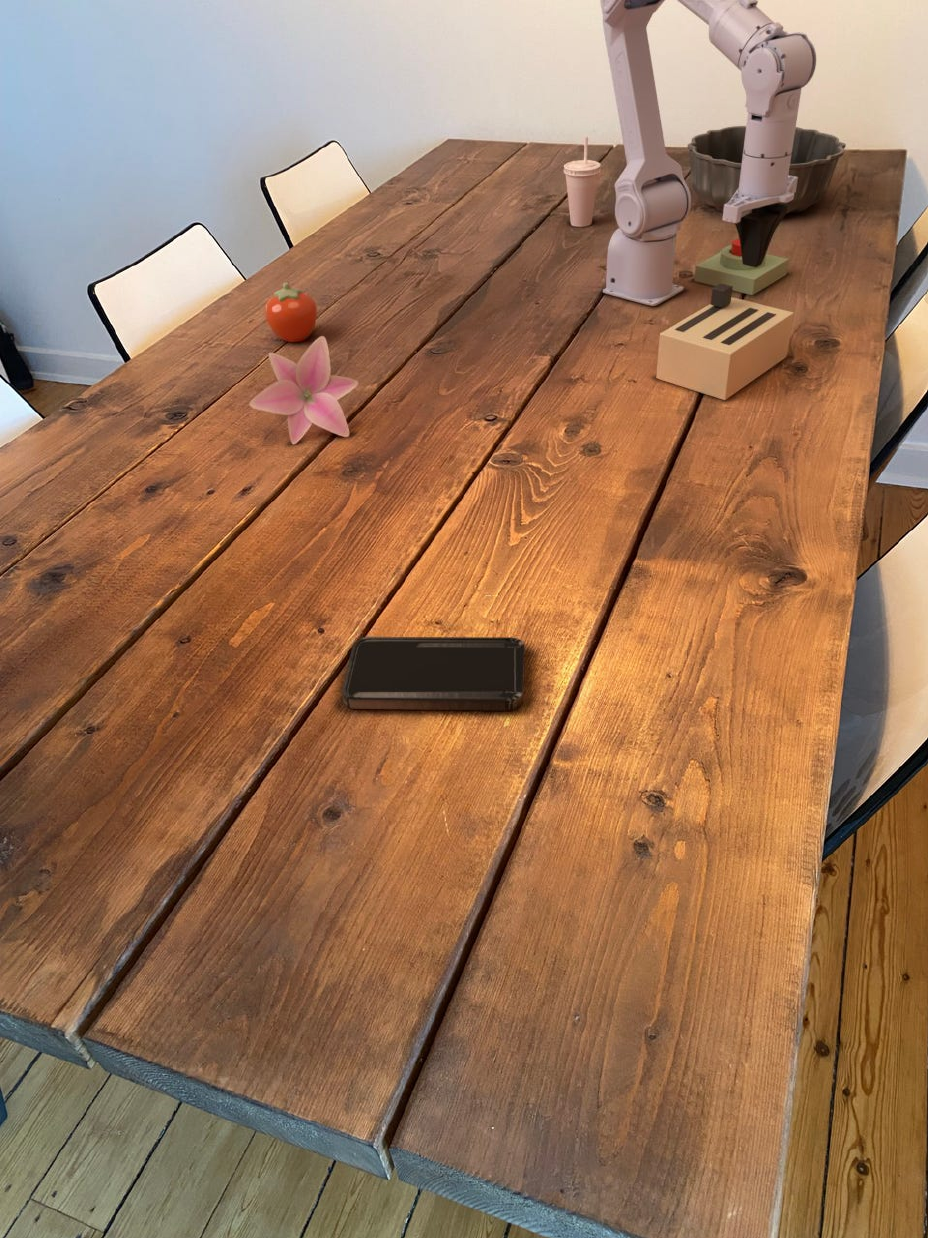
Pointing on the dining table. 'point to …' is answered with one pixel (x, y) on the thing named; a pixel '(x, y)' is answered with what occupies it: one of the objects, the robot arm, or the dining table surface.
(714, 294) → the slider
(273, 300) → the tomato
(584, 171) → the smoothie
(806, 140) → the bundt pan
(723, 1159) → the dining table surface
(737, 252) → the timer button
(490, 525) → the dining table surface
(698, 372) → the toaster
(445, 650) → the phone
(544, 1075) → the dining table surface
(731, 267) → the green button base
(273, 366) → the lily
